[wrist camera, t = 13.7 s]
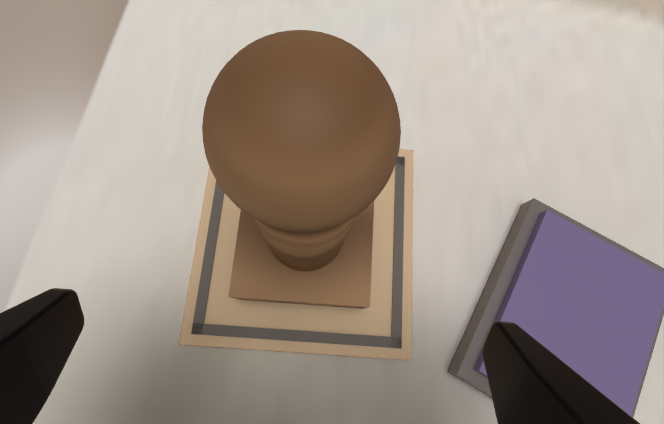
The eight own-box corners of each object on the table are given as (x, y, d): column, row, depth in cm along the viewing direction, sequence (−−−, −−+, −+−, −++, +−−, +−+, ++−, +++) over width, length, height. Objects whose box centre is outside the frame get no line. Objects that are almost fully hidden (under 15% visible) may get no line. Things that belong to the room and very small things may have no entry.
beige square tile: (408, 358, 19) (411, 360, 18) (183, 343, 18) (178, 344, 18) (410, 154, 22) (413, 149, 21) (217, 137, 21) (214, 131, 21)
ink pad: (597, 460, 18) (628, 475, 16) (447, 371, 19) (461, 376, 17) (654, 277, 21) (686, 273, 19) (521, 204, 21) (540, 194, 20)
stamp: (361, 308, 19) (497, 283, 5) (239, 299, 18) (56, 249, 5) (367, 193, 20) (480, -49, 7) (254, 183, 20) (147, -86, 7)
